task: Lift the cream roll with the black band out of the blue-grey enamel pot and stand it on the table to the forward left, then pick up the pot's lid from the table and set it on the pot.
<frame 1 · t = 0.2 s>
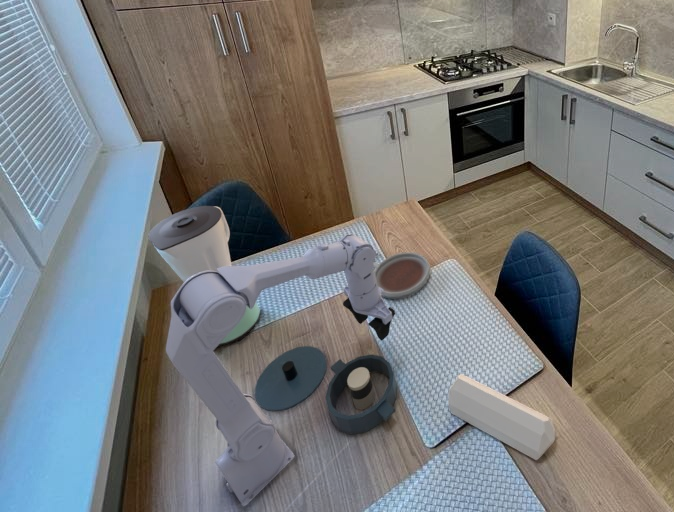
hand: (373, 328, 93), 10 cm above the table, tool pointing down, fingers open, 7 cm apart
lid: (292, 377, 93), point 1 cm above the table
pot: (365, 400, 88), on the table
blender: (235, 325, 107), on the table
roll: (364, 399, 88), resting on pot
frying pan: (388, 272, 122), on the table
beveled cream prism: (500, 420, 84), on the table
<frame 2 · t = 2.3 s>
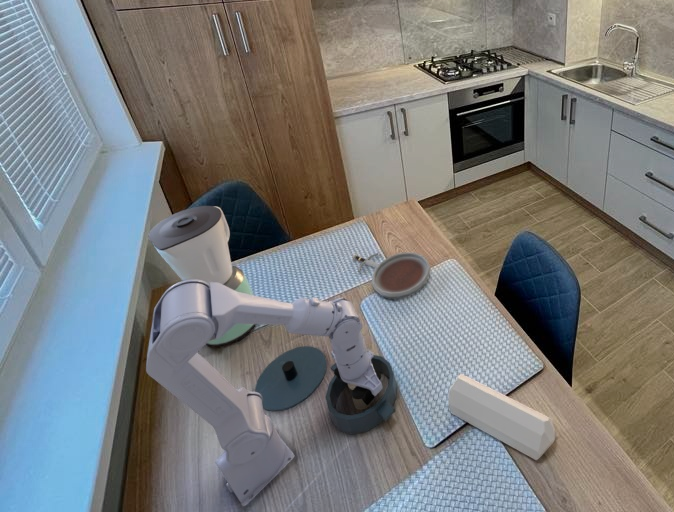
hand: (363, 393, 87), 2 cm above the table, tool pointing down, fingers closed on roll, 4 cm apart
roll: (364, 398, 88), point 1 cm above the table, touching gripper, pot
everything else where it was.
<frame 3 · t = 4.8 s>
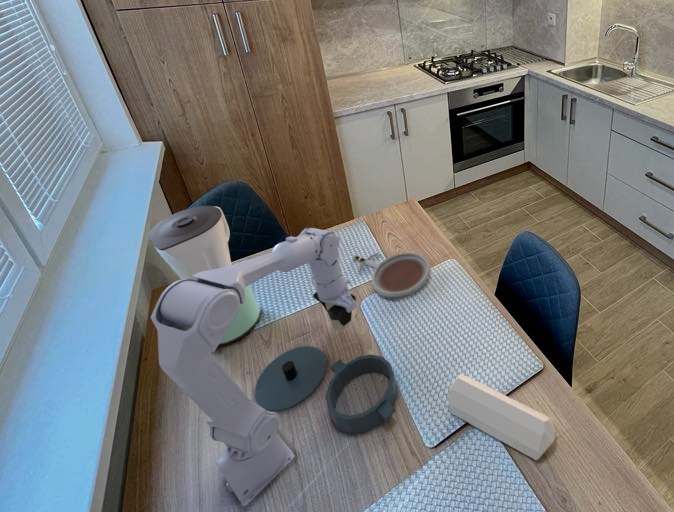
hand: (340, 317, 96), 10 cm above the table, tool pointing down, fingers closed on roll, 4 cm apart
roll: (342, 322, 97), point 8 cm above the table, touching gripper
everything else where it was.
when the fingers open (2 cm above the table, at t = 7.3 s): roll stays where it is, on the table.
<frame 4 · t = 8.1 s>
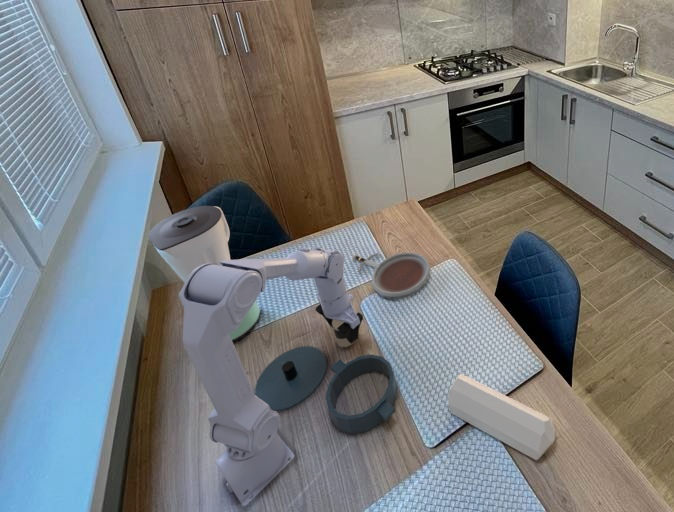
hand: (344, 332, 100), 3 cm above the table, tool pointing down, fingers open, 7 cm apart
roll: (347, 340, 102), on the table
everything else where it was.
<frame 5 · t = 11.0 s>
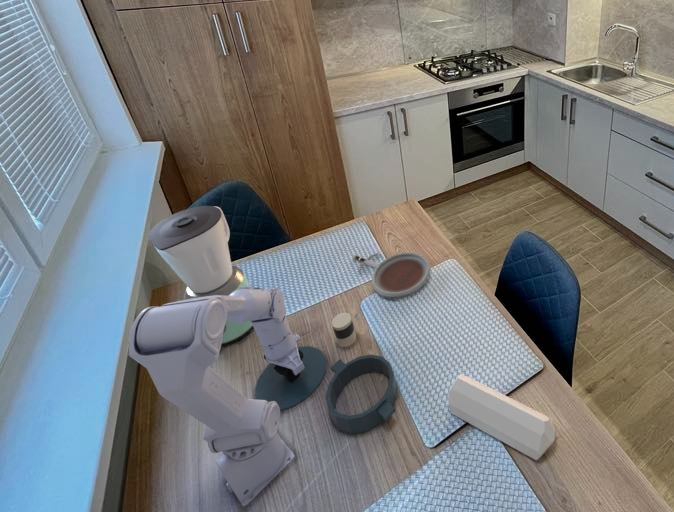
hand: (291, 374, 93), 1 cm above the table, tool pointing down, fingers closed on lid, 2 cm apart
lid: (292, 377, 93), point 1 cm above the table, touching gripper
everything else where it was.
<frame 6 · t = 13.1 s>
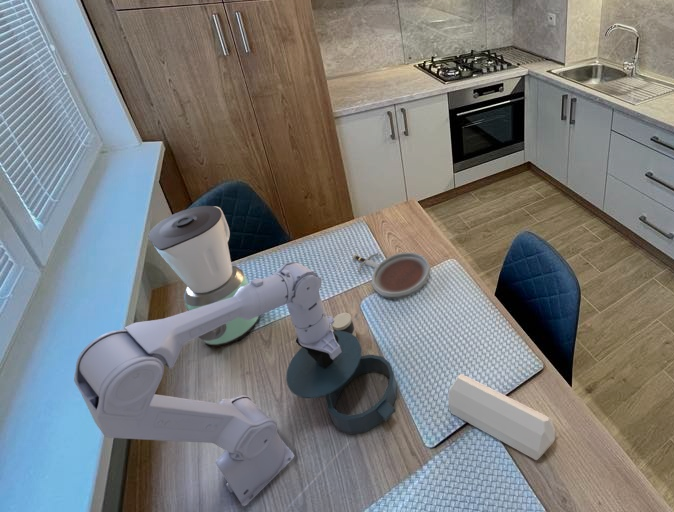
hand: (324, 360, 86), 10 cm above the table, tool pointing down, fingers closed on lid, 2 cm apart
lid: (325, 363, 86), point 10 cm above the table, touching gripper
everything else where it was.
when the fingers open (6 cm above the table, at t = 15.1 s): lid stays where it is, resting on pot.
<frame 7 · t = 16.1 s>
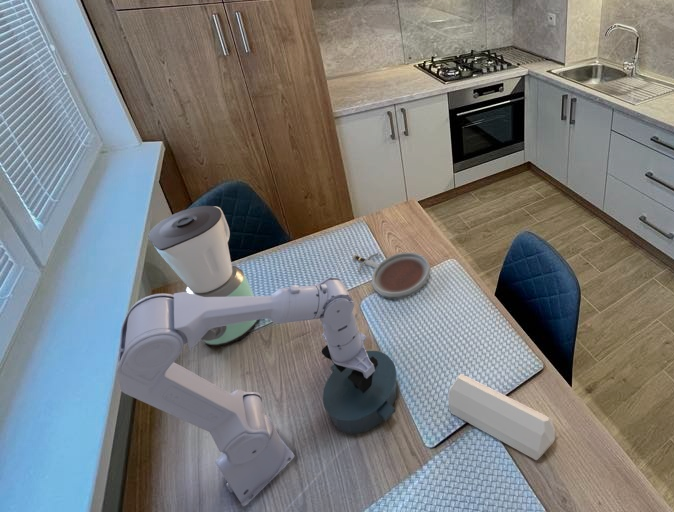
hand: (355, 377, 85), 8 cm above the table, tool pointing down, fingers open, 7 cm apart
lid: (360, 384, 86), point 5 cm above the table, touching pot
everything else where it was.
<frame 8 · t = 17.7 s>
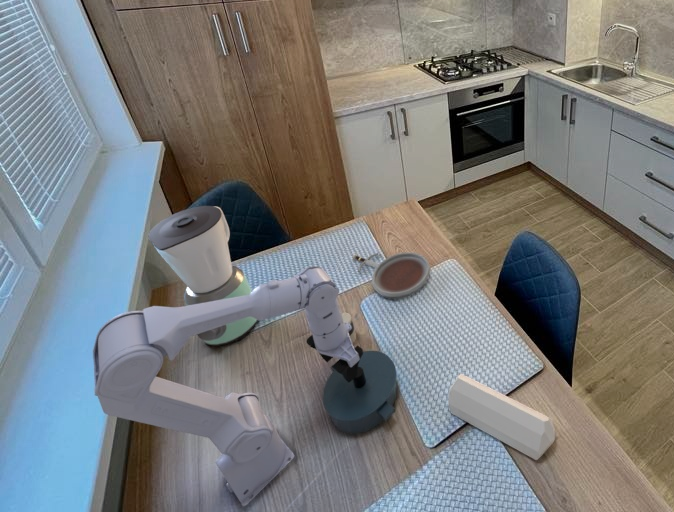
hand: (341, 367, 84), 10 cm above the table, tool pointing down, fingers open, 7 cm apart
nothing on the table moved.
at the end: roll inside the target area (0.1 cm from its centre), on the table; roll tilted 0°; lid 0.1 cm off-centre on the pot, point 5.5 cm above the pot's base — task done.
